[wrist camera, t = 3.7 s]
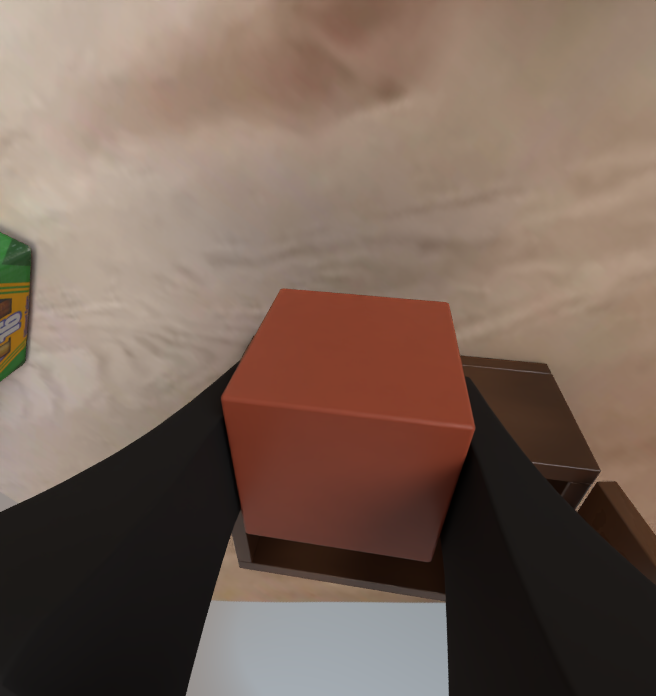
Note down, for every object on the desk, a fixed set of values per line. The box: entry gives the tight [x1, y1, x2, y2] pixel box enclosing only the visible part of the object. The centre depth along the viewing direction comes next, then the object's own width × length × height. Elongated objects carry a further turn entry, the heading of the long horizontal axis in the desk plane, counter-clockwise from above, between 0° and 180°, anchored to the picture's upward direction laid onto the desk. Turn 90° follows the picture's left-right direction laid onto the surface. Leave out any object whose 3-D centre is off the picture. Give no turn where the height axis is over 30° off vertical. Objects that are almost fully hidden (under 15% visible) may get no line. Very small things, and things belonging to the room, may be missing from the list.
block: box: [221, 289, 475, 562], centre depth 10 cm, size 4×4×4 cm
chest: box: [232, 336, 601, 601], centre depth 21 cm, size 15×12×6 cm
